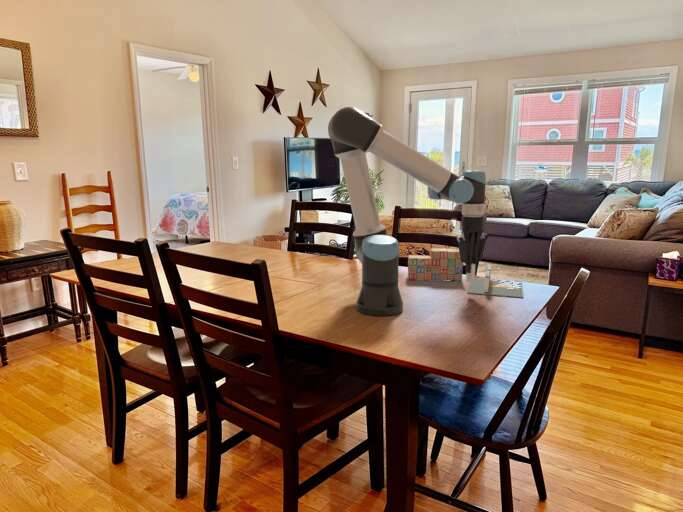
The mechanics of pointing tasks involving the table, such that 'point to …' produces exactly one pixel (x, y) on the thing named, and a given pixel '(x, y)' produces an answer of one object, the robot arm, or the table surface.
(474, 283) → the card
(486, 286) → the folding fence panel
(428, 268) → the stack of blocks
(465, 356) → the table surface
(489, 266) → the fixed fence panel
